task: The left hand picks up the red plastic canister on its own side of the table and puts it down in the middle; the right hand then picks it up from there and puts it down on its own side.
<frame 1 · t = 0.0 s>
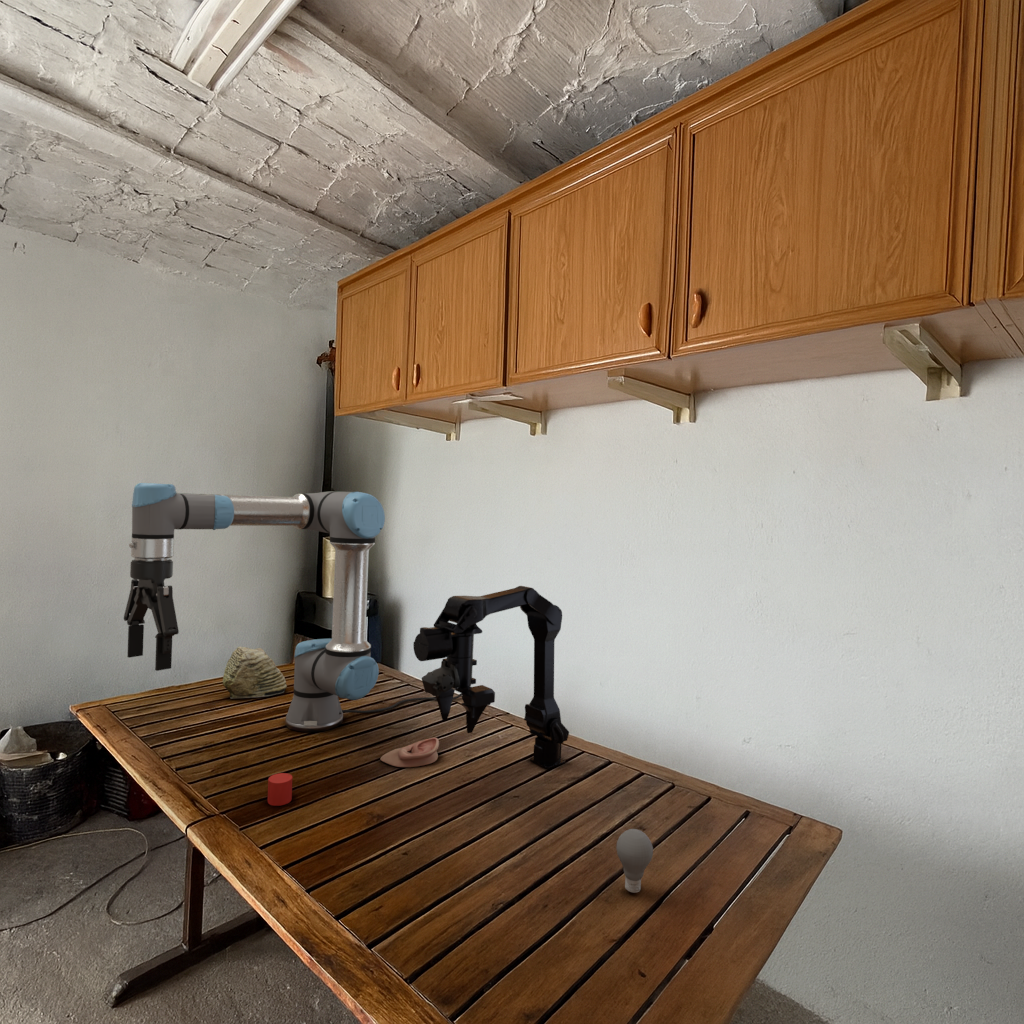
left hand: (148, 662, 129), 28 cm above the table, tool pointing down, fingers open, 13 cm apart
right hand: (456, 726, 138), 15 cm above the table, tool pointing down, fingers open, 9 cm apart
anatomical model: (409, 759, 155), on the table
light bulb: (632, 891, 106), on the table
fossil: (254, 694, 198), on the table
canister: (279, 800, 131), on the table
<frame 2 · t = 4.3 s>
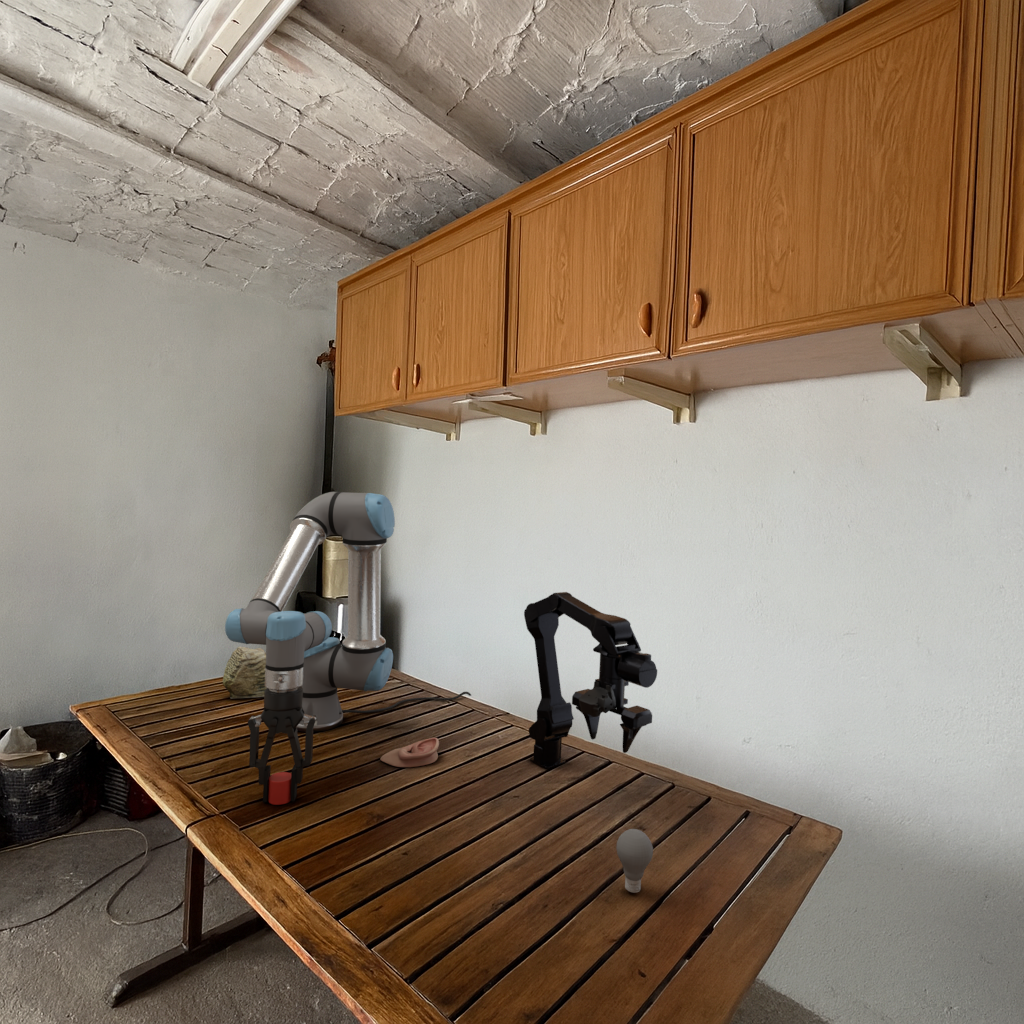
left hand: (279, 798, 132), 0 cm above the table, tool pointing down, fingers closed on canister, 5 cm apart
right hand: (608, 745, 140), 11 cm above the table, tool pointing down, fingers open, 9 cm apart
canister: (280, 799, 132), on the table, touching left hand
everything else where it was.
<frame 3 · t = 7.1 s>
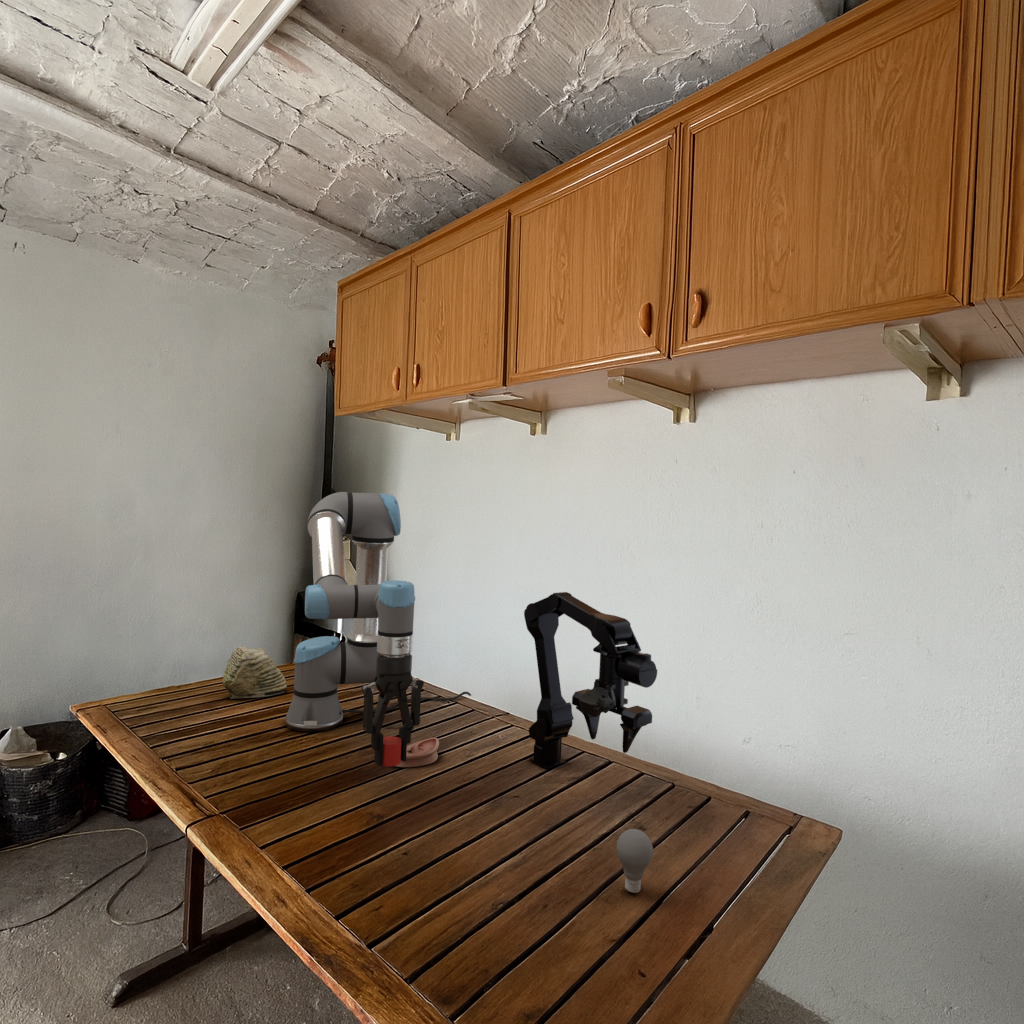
left hand: (390, 761, 136), 7 cm above the table, tool pointing down, fingers closed on canister, 5 cm apart
right hand: (608, 745, 140), 11 cm above the table, tool pointing down, fingers open, 9 cm apart
canister: (389, 762, 137), point 7 cm above the table, touching left hand
everything else where it was.
when the left hand's fingers open (1 cm above the table, at t = 10.0 s): canister stays where it is, on the table.
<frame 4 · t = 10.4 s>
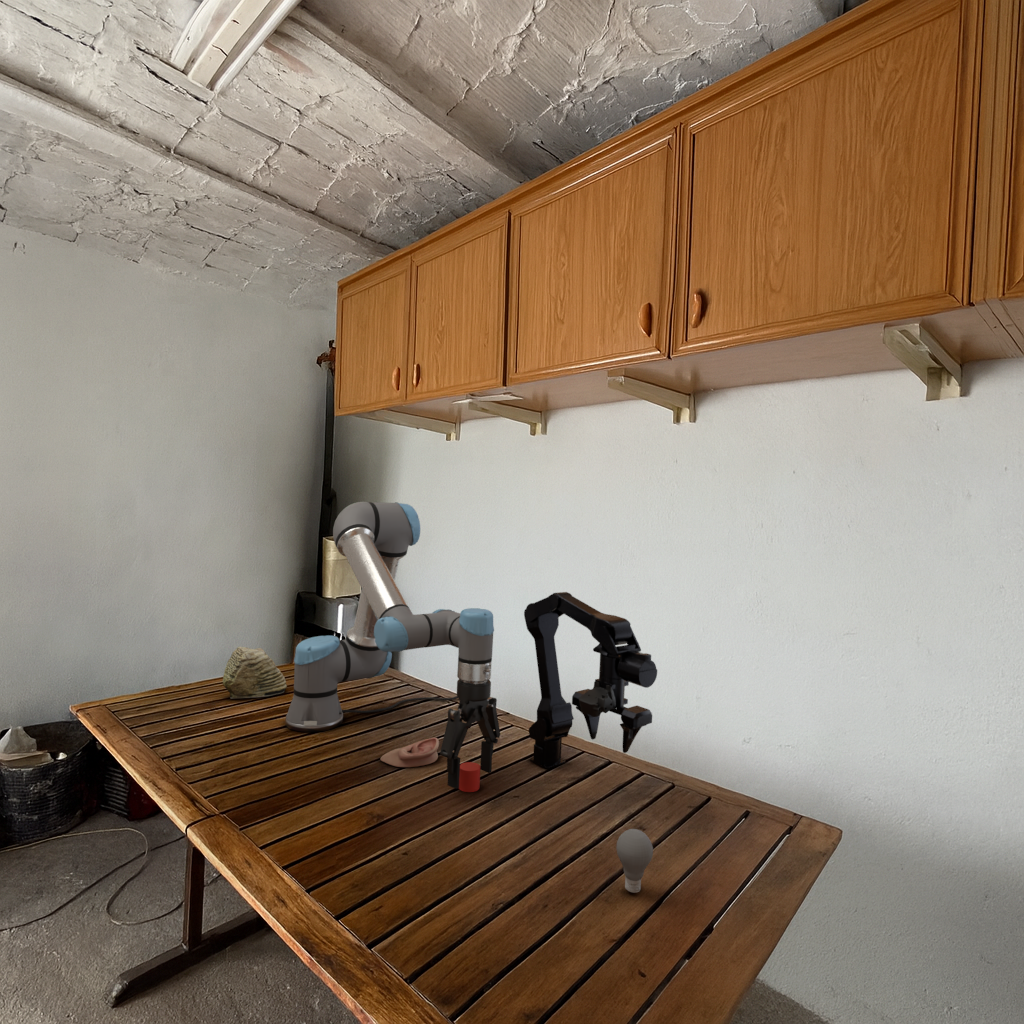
left hand: (470, 778, 141), 2 cm above the table, tool pointing down, fingers open, 10 cm apart
right hand: (608, 745, 140), 11 cm above the table, tool pointing down, fingers open, 9 cm apart
canister: (468, 787, 141), on the table
everything else where it was.
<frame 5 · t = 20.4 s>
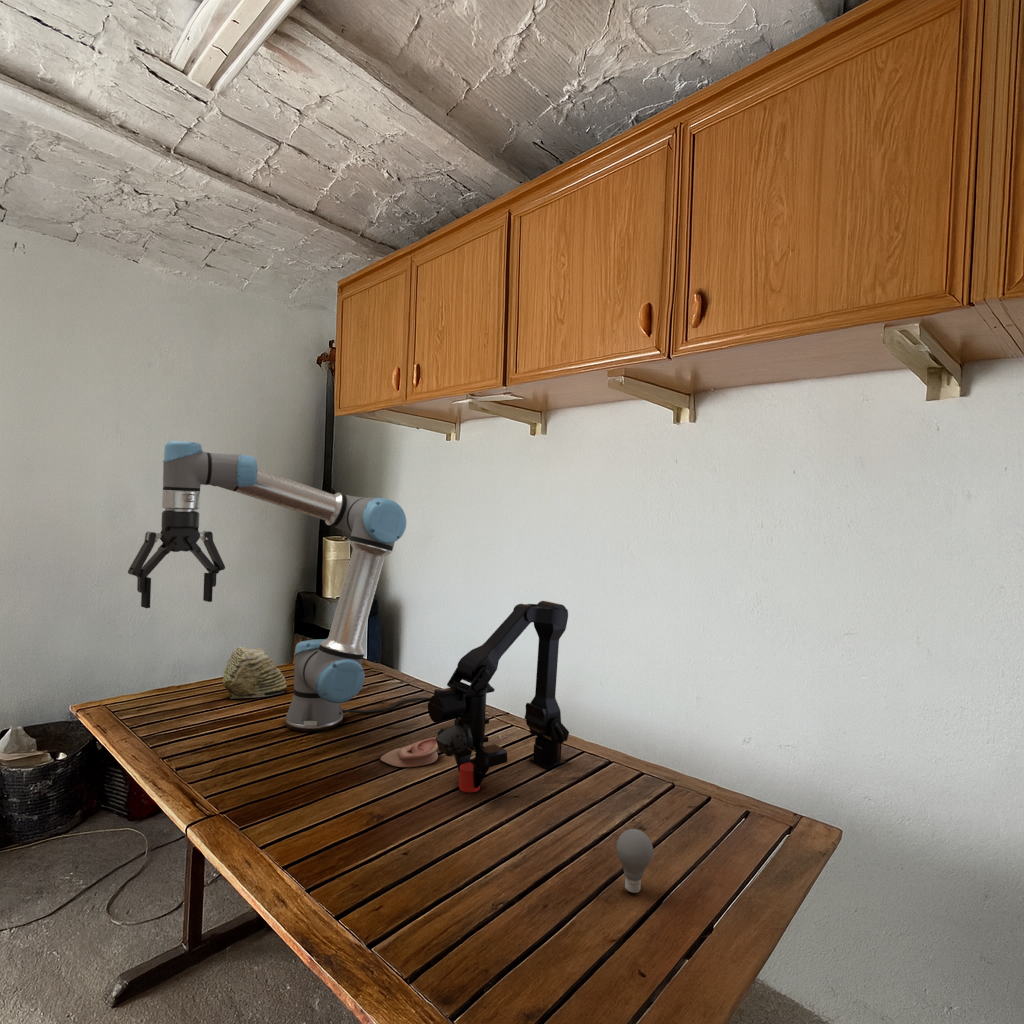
left hand: (177, 604, 143), 38 cm above the table, tool pointing down, fingers open, 13 cm apart
right hand: (469, 783, 141), 1 cm above the table, tool pointing down, fingers closed on canister, 5 cm apart
canister: (469, 787, 141), on the table, touching right hand
everything else where it was.
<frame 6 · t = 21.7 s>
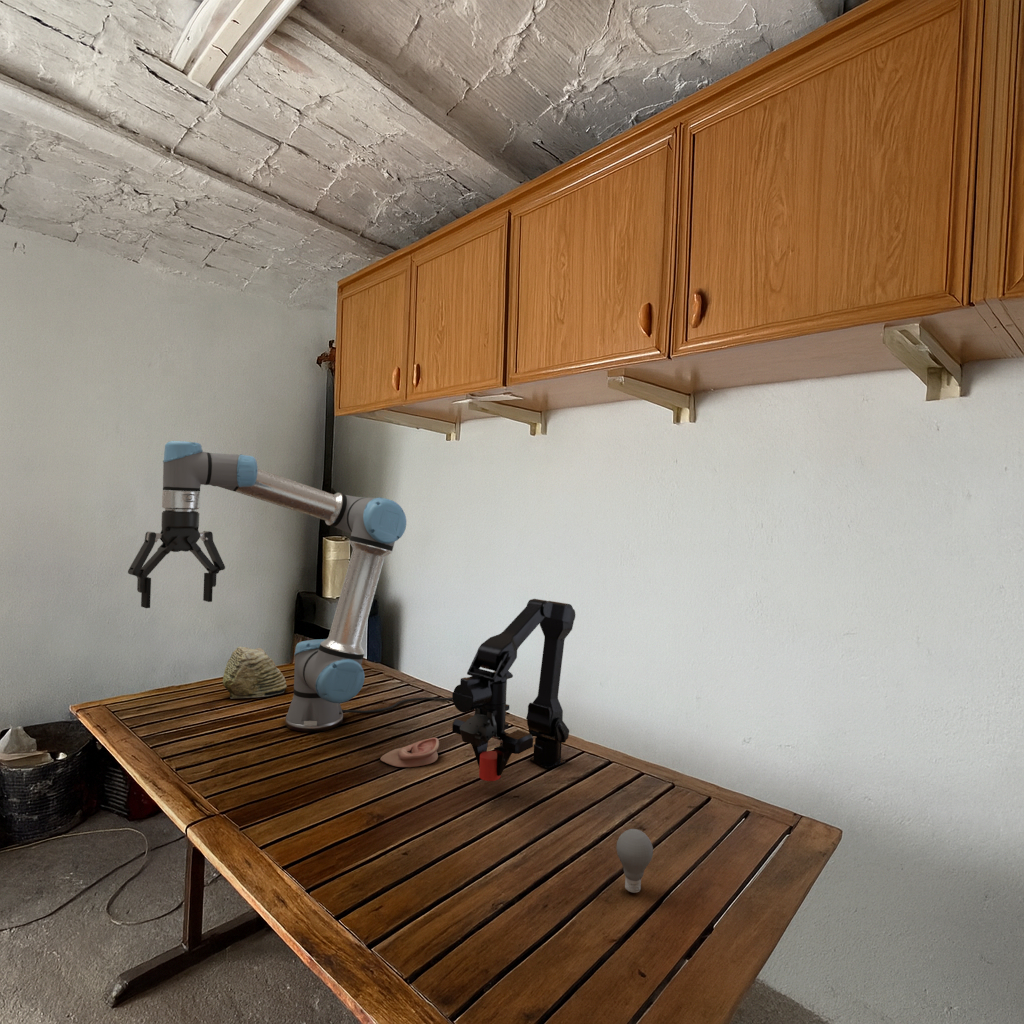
left hand: (177, 604, 143), 38 cm above the table, tool pointing down, fingers open, 13 cm apart
right hand: (490, 771, 139), 5 cm above the table, tool pointing down, fingers closed on canister, 5 cm apart
canister: (489, 776, 139), point 4 cm above the table, touching right hand
everything else where it was.
when the right hand's fingers open (2 cm above the table, at t = 23.5 s): canister drops 1 cm, on the table.
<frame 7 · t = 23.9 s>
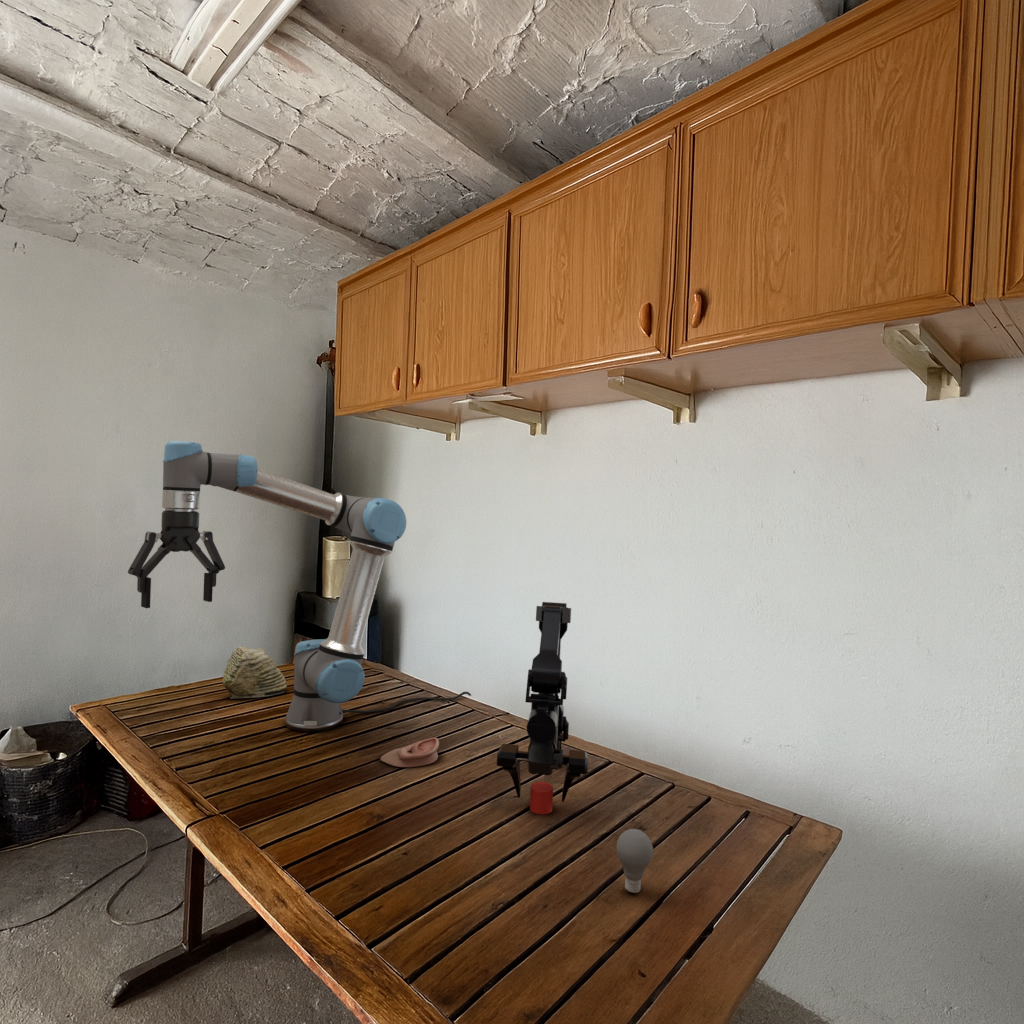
left hand: (177, 604, 143), 38 cm above the table, tool pointing down, fingers open, 13 cm apart
right hand: (540, 798, 133), 2 cm above the table, tool pointing down, fingers open, 9 cm apart
canister: (540, 808, 133), on the table
everything else where it was.
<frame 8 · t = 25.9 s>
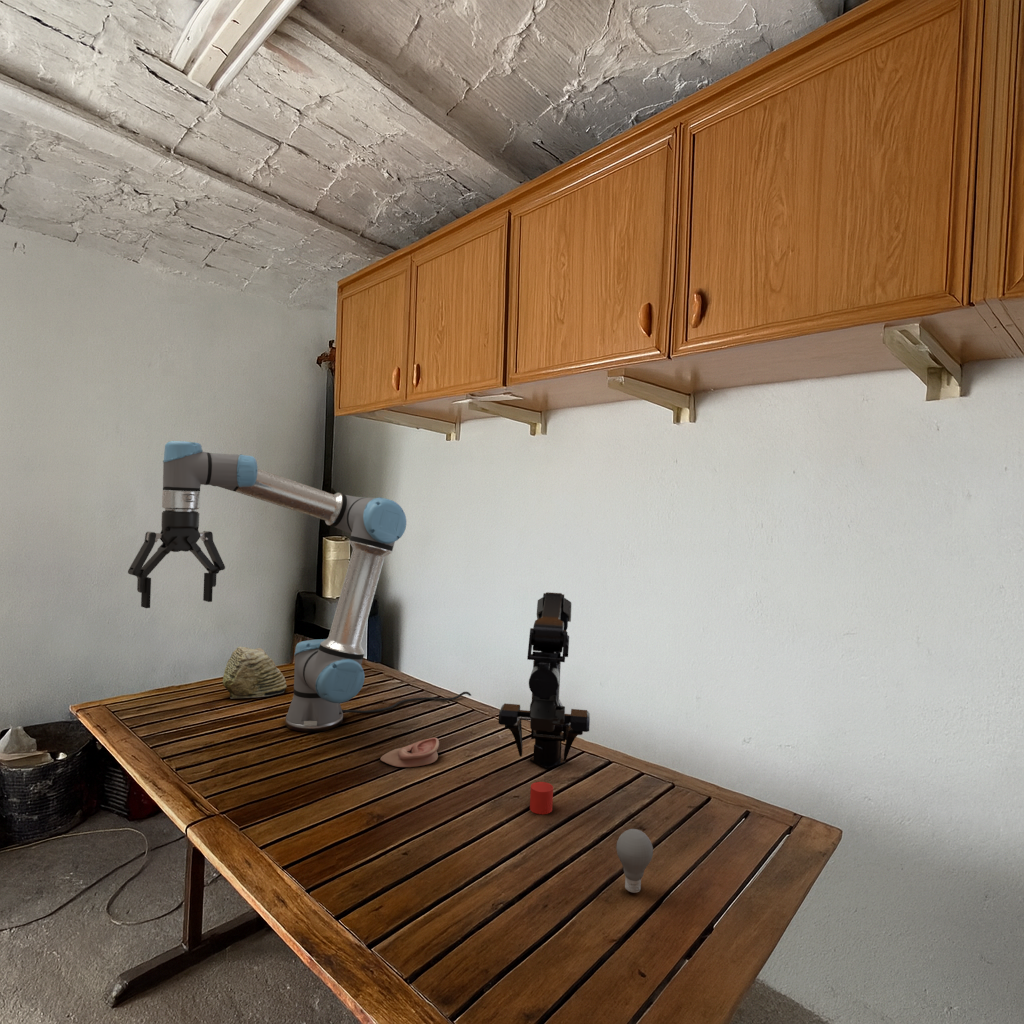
left hand: (177, 604, 143), 38 cm above the table, tool pointing down, fingers open, 13 cm apart
right hand: (542, 757, 133), 11 cm above the table, tool pointing down, fingers open, 9 cm apart
nothing on the table moved.
at the end: canister inside the target area (0.1 cm from its centre), on the table; canister tilted 0°; the two hands never held the canister at the same time; the left hand is holding nothing; the right hand is holding nothing; canister at rest at the end (0.0 cm/s) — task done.
